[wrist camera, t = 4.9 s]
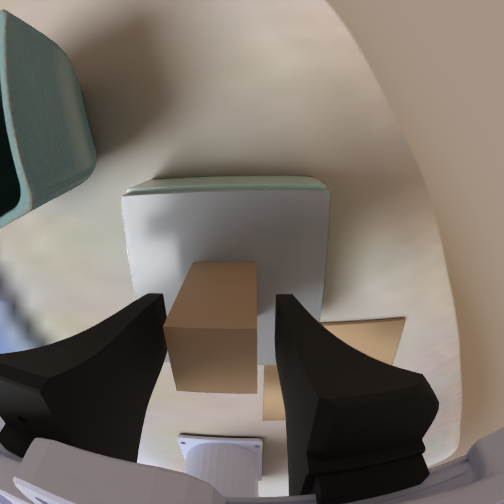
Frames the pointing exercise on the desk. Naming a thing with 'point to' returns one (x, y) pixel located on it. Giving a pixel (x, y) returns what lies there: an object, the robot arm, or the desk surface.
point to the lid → (226, 273)
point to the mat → (354, 334)
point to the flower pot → (38, 121)
